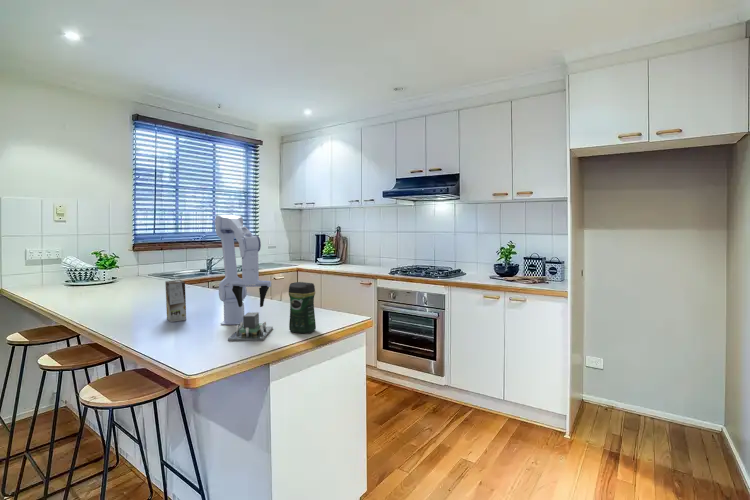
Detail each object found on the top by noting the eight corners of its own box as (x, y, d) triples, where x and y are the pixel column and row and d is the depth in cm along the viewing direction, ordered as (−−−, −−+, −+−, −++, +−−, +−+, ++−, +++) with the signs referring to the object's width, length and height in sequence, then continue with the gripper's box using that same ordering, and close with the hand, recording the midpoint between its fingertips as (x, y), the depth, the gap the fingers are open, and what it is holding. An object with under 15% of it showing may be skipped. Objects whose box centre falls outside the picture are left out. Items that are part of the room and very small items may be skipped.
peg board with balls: (241, 328, 156) (241, 318, 155) (272, 328, 156) (272, 318, 156) (228, 341, 140) (227, 329, 139) (263, 340, 140) (262, 329, 140)
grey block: (246, 326, 152) (246, 311, 152) (262, 325, 152) (262, 311, 152) (239, 332, 143) (239, 317, 143) (256, 332, 143) (256, 317, 143)
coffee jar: (319, 330, 154) (318, 281, 153) (306, 335, 147) (306, 284, 146) (298, 327, 158) (298, 280, 157) (285, 332, 151) (284, 282, 150)
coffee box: (187, 320, 169) (185, 282, 168) (170, 322, 166) (168, 283, 165) (182, 316, 177) (181, 279, 176) (166, 318, 173) (164, 281, 172)
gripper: (226, 270, 142) (227, 308, 143) (268, 270, 143) (268, 308, 144) (232, 268, 149) (233, 304, 150) (272, 268, 150) (272, 304, 151)
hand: (251, 306), depth 147 cm, fingers open, 7 cm apart
